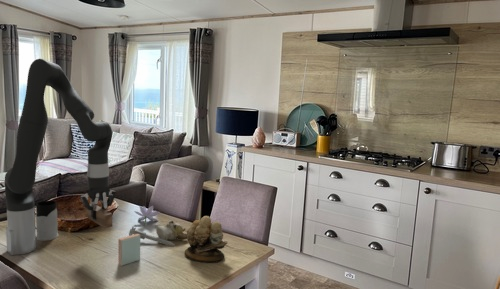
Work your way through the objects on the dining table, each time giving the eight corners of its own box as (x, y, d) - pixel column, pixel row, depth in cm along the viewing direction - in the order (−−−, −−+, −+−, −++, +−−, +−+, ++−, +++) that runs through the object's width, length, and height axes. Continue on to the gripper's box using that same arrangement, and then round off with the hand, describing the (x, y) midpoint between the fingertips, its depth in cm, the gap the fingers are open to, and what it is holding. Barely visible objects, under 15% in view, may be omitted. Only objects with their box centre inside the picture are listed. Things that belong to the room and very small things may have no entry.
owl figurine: (231, 254, 153) (233, 214, 150) (220, 266, 141) (222, 223, 139) (191, 246, 158) (193, 208, 156) (178, 257, 147) (179, 216, 145)
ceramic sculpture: (153, 218, 165) (186, 216, 172) (152, 236, 166) (184, 234, 173) (159, 226, 156) (193, 224, 163) (157, 246, 157) (191, 243, 164)
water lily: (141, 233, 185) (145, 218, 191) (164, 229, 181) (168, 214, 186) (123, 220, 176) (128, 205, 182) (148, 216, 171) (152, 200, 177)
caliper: (128, 241, 161) (128, 227, 160) (130, 240, 162) (130, 226, 161) (174, 246, 158) (174, 232, 157) (175, 245, 159) (175, 231, 158)
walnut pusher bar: (104, 228, 137) (104, 215, 136) (86, 216, 147) (85, 204, 147) (112, 226, 139) (112, 213, 138) (93, 215, 150) (93, 203, 149)
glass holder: (51, 241, 156) (50, 206, 154) (18, 239, 156) (17, 204, 154) (62, 233, 165) (61, 200, 163) (31, 231, 165) (29, 198, 163)
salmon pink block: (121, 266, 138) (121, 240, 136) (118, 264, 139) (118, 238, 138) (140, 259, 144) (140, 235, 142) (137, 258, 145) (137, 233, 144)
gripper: (83, 179, 133) (84, 225, 135) (120, 173, 143) (120, 217, 145) (75, 175, 138) (76, 219, 140) (111, 170, 148) (111, 212, 151)
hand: (99, 218), depth 143 cm, fingers closed on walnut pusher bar, 3 cm apart
